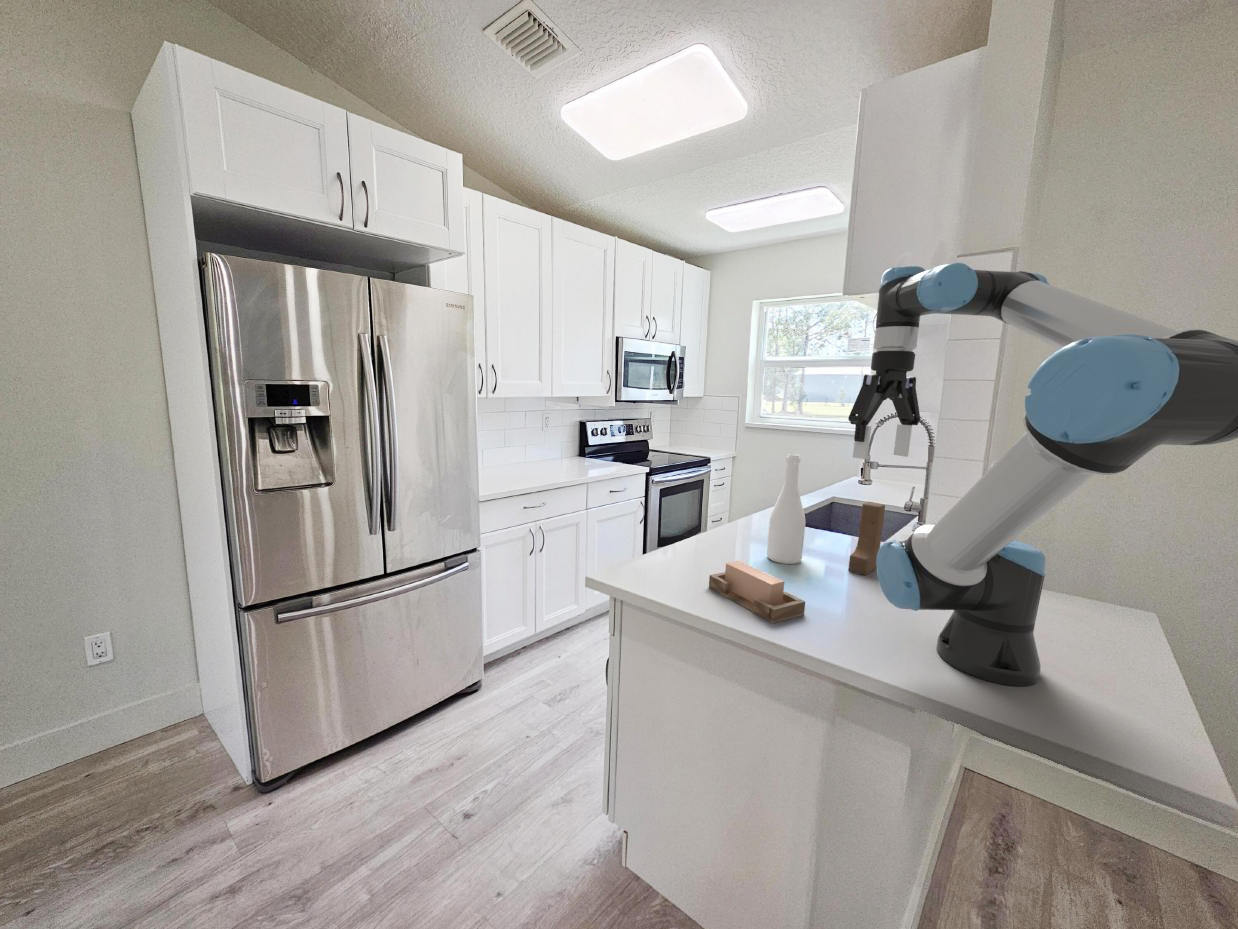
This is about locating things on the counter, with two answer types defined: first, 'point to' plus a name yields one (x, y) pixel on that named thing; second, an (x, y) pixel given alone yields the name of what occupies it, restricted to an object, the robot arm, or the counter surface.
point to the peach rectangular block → (754, 583)
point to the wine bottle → (787, 519)
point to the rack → (760, 602)
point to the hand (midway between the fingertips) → (881, 457)
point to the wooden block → (868, 539)
